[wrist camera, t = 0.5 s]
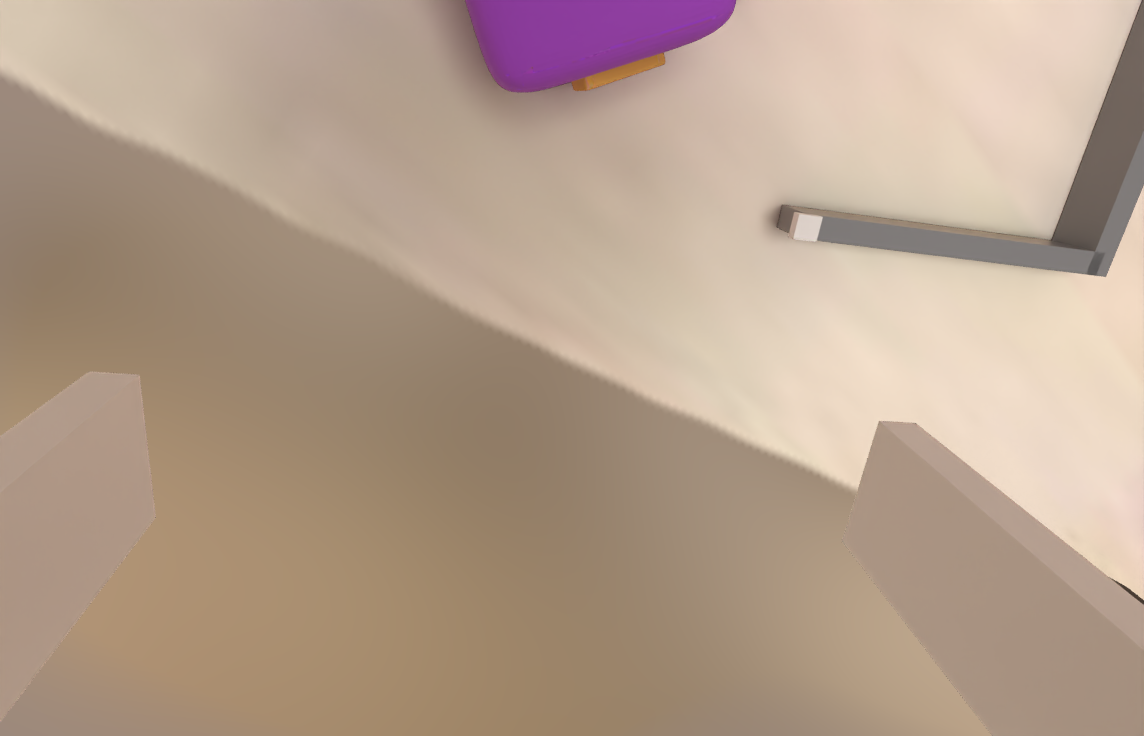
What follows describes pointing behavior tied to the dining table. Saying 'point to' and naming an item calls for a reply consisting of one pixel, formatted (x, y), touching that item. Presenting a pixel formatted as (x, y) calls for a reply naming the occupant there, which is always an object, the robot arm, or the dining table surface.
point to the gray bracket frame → (1089, 219)
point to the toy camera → (585, 38)
